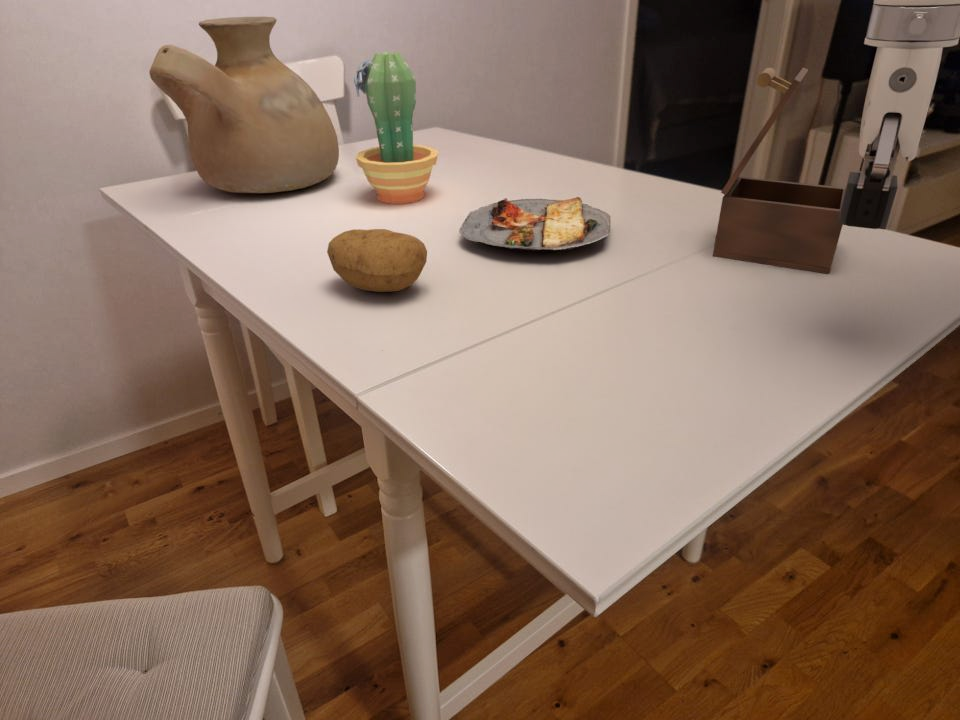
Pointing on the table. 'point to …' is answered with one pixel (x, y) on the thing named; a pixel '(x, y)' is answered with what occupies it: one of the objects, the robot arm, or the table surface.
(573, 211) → the food plate
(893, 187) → the block
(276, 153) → the jug
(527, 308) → the table surface
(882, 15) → the robot arm
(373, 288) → the potato
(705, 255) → the table surface
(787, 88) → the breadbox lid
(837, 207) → the box
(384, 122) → the potted cactus
